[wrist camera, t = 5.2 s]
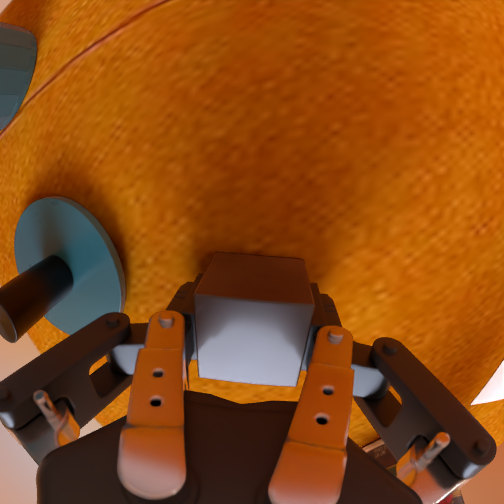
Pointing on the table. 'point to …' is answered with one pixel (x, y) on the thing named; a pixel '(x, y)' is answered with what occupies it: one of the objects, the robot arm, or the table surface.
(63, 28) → the table surface
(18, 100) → the tin
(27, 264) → the lid
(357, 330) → the table surface
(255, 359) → the block
